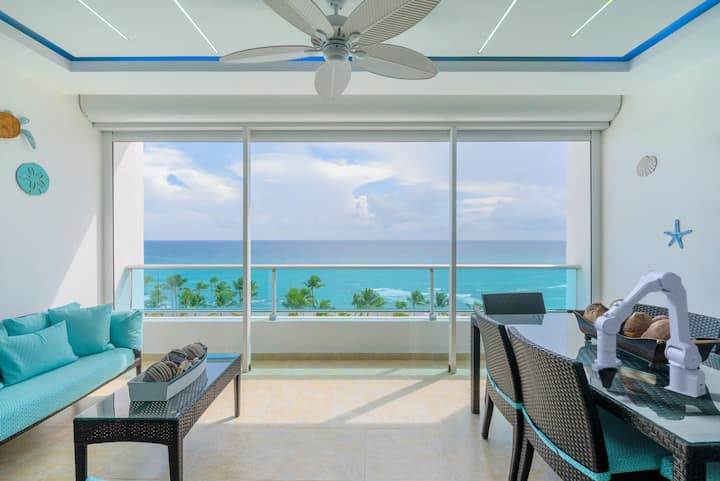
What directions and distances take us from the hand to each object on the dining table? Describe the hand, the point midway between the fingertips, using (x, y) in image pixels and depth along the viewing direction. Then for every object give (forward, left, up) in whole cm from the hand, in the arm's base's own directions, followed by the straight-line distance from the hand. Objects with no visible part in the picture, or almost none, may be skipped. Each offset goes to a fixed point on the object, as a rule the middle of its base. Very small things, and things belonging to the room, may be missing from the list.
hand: (606, 387), depth 142 cm
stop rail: (+1, -22, -1) cm, 22 cm away
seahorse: (-1, -13, -2) cm, 13 cm away
